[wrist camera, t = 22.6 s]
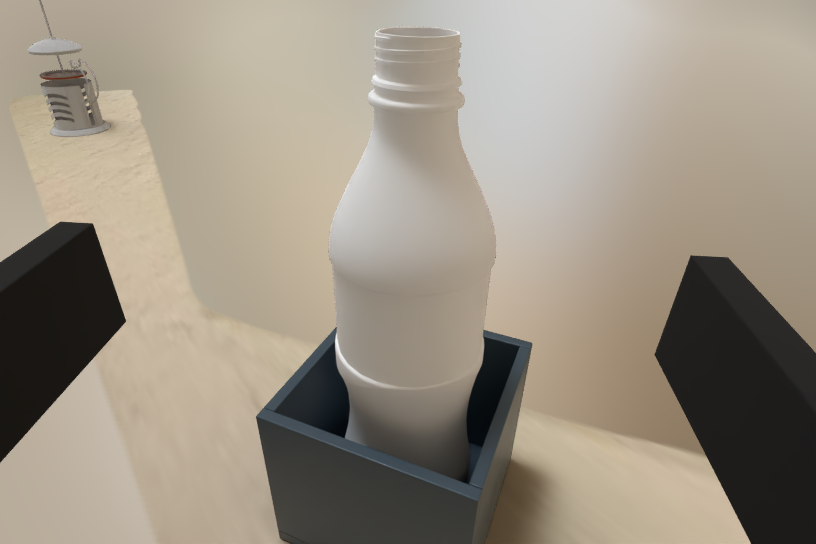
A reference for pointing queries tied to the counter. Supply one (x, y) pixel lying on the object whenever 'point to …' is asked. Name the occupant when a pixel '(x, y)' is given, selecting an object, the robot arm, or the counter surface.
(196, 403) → the counter surface
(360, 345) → the water bottle
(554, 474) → the counter surface
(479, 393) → the tub
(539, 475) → the counter surface
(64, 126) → the french press
